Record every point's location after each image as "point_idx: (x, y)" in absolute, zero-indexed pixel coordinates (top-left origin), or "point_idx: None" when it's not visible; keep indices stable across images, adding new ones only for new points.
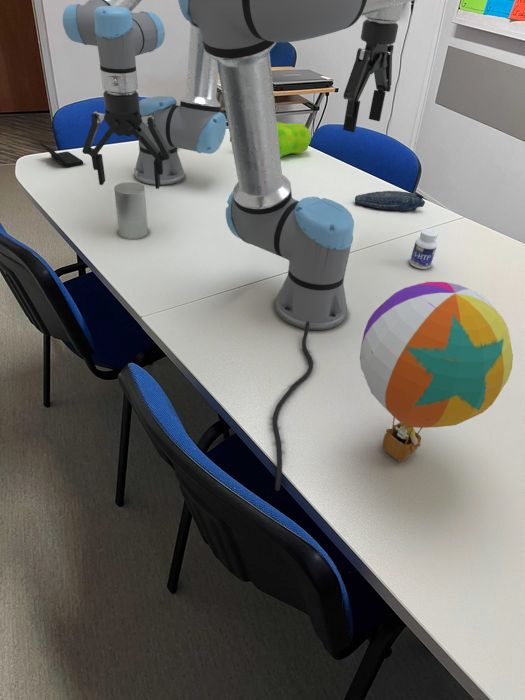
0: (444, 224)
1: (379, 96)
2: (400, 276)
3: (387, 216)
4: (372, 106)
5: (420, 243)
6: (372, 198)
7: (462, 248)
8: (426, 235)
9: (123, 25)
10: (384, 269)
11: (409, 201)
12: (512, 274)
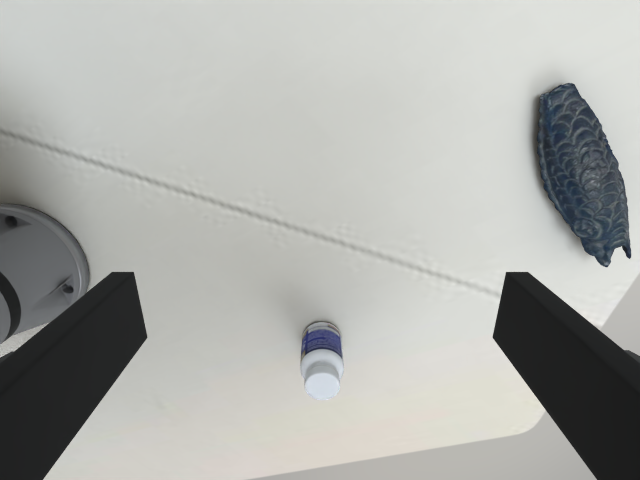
0: None
1: (610, 451)
2: (254, 327)
3: (511, 200)
4: (555, 333)
5: (302, 365)
6: (560, 143)
7: (445, 369)
8: (305, 385)
9: None
10: (256, 297)
11: (584, 237)
12: (399, 446)
